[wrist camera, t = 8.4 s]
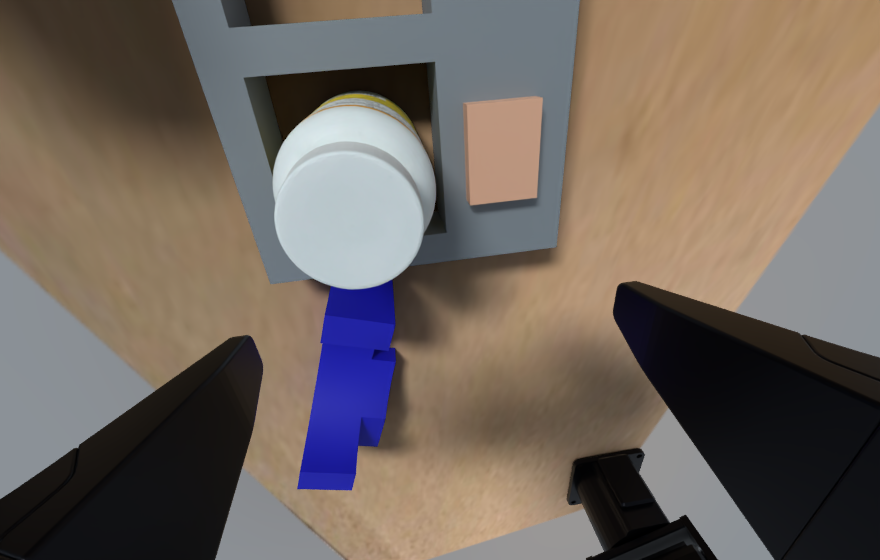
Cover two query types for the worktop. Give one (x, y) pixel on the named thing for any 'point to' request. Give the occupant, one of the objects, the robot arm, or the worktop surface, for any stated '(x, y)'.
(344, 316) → the cable clip
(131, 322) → the worktop surface
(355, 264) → the supplement bottle
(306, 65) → the board
